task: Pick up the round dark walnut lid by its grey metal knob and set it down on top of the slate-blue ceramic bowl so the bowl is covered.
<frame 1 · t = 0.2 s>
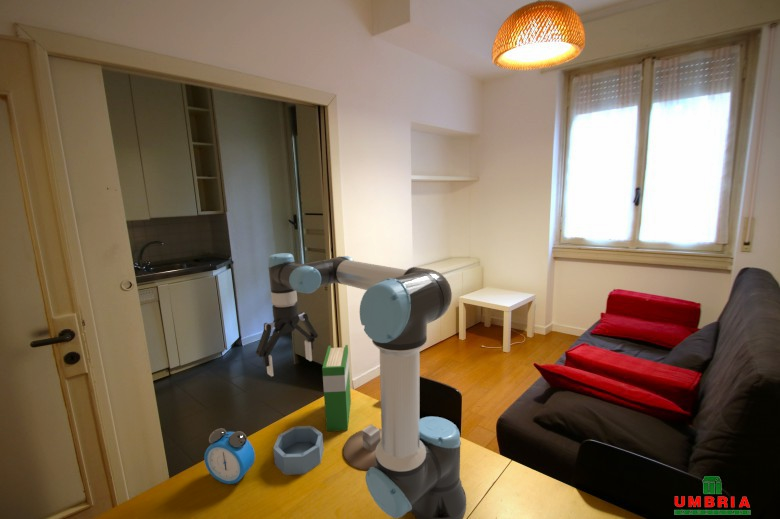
hand: (290, 366, 116), 28 cm above the table, tool pointing down, fingers open, 13 cm apart
alarm clock: (232, 477, 108), on the table
bowl: (299, 457, 115), on the table
lid: (371, 449, 118), on the table
hardback book: (339, 415, 136), on the table
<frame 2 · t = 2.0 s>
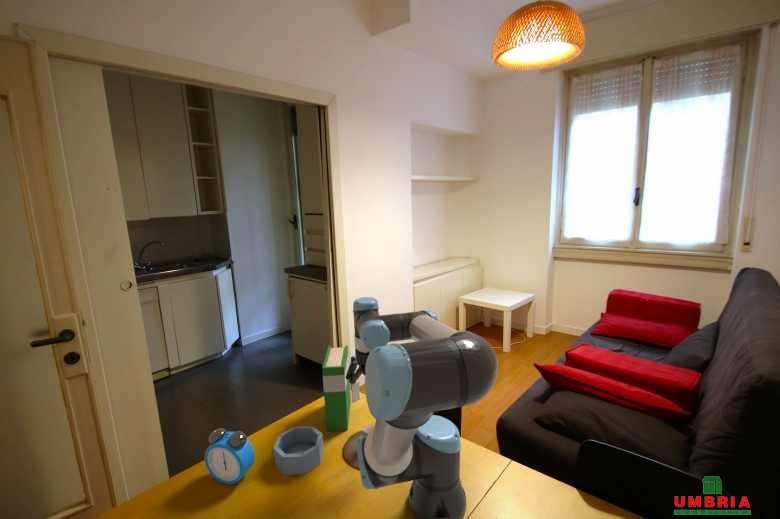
hand: (369, 409, 115), 14 cm above the table, tool pointing down, fingers open, 13 cm apart
nothing on the table moved.
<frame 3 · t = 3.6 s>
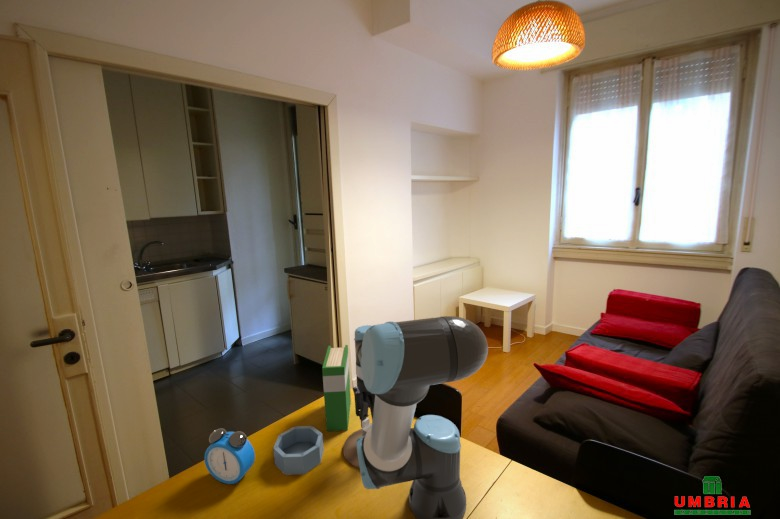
hand: (371, 440, 118), 3 cm above the table, tool pointing down, fingers closed on lid, 4 cm apart
lid: (371, 448, 118), on the table, touching gripper
everything else where it was.
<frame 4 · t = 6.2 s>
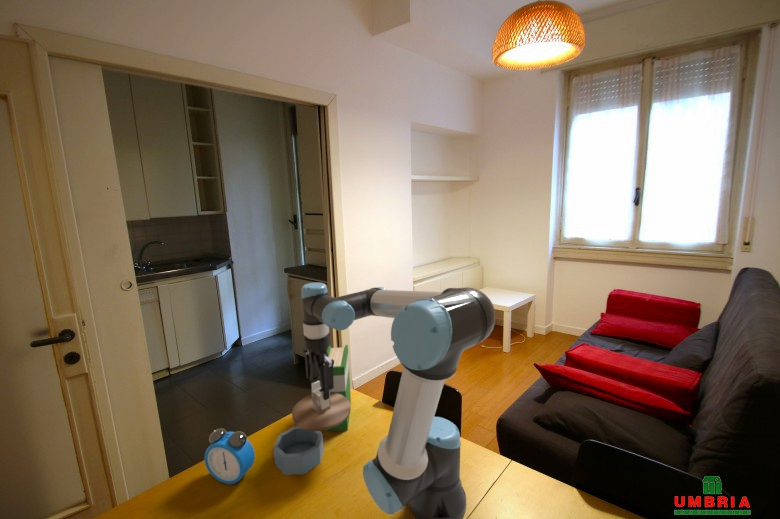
hand: (321, 404, 113), 17 cm above the table, tool pointing down, fingers closed on lid, 4 cm apart
lid: (321, 411, 114), point 15 cm above the table, touching gripper
everything else where it was.
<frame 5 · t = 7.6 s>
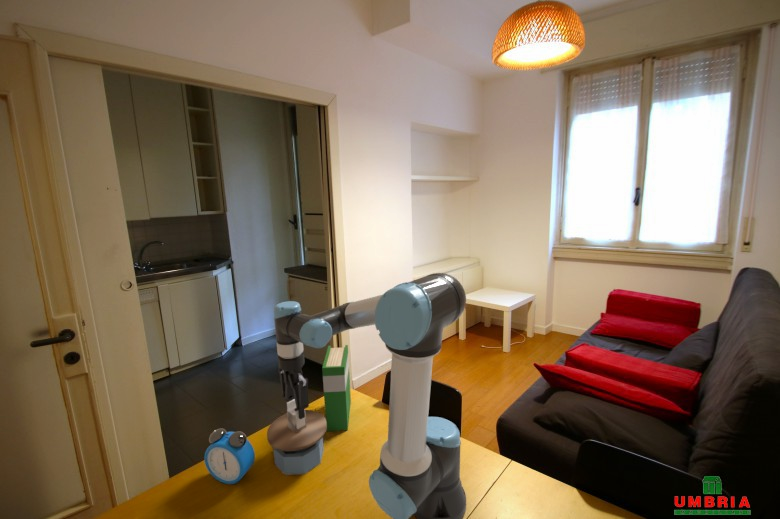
hand: (296, 422, 113), 12 cm above the table, tool pointing down, fingers closed on lid, 4 cm apart
lid: (297, 430, 113), point 9 cm above the table, touching gripper
everything else where it was.
when the fingers open (10 cm above the table, at t = 8.6 s): lid drops 1 cm, resting on bowl.
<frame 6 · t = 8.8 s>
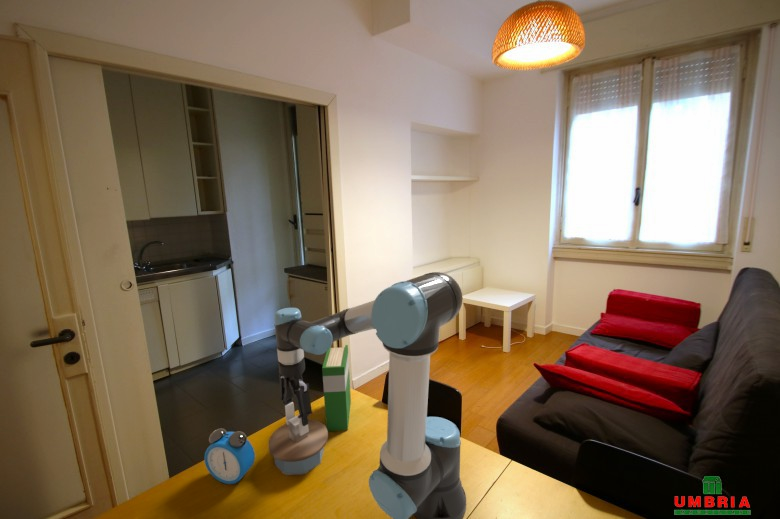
hand: (297, 427, 113), 11 cm above the table, tool pointing down, fingers open, 7 cm apart
lid: (298, 440, 114), point 6 cm above the table, touching bowl
everything else where it was.
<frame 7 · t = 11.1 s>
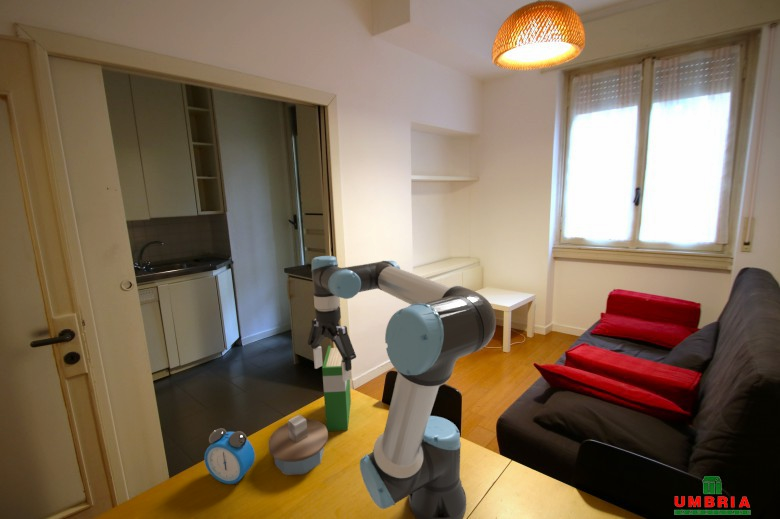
hand: (332, 373, 113), 27 cm above the table, tool pointing down, fingers open, 13 cm apart
nothing on the table moved.
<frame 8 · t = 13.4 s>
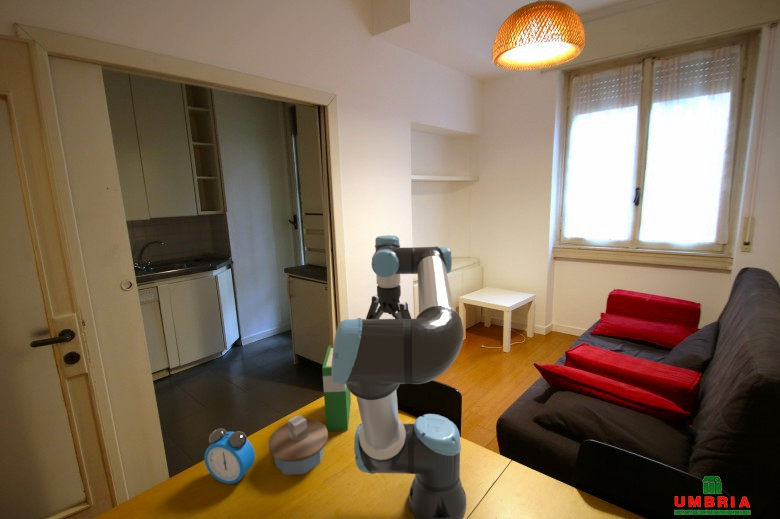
hand: (390, 347, 119), 32 cm above the table, tool pointing down, fingers open, 13 cm apart
nothing on the table moved.
at the end: lid 0.1 cm from the bowl (horizontally); lid point 6.0 cm above the table; lid tilted 0° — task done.
